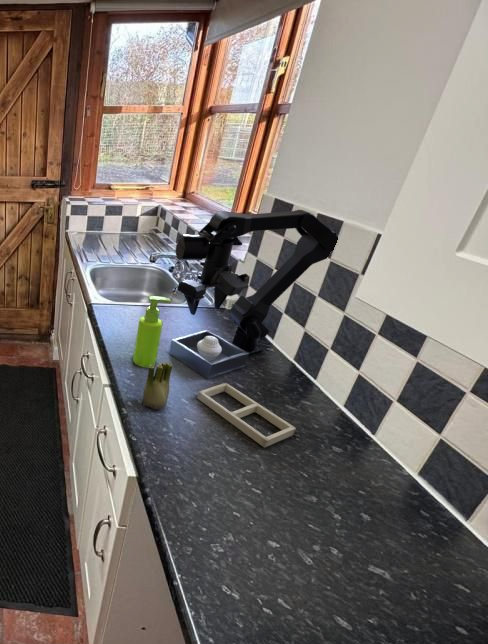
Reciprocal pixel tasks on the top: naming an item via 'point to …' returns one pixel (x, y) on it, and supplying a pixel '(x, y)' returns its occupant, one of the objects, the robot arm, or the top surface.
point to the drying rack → (249, 409)
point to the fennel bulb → (157, 386)
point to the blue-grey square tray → (222, 364)
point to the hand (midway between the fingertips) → (204, 311)
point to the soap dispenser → (149, 334)
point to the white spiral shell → (209, 348)
